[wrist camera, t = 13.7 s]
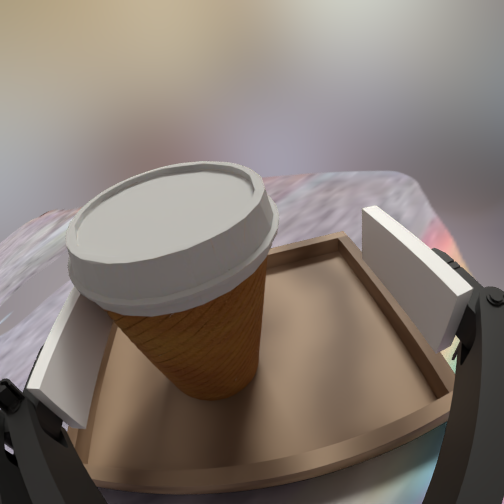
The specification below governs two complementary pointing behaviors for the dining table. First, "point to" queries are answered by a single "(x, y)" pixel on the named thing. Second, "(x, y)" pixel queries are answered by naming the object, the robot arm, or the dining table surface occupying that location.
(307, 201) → the dining table surface
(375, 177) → the dining table surface
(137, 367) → the serving tray
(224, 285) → the disposable coffee cup
